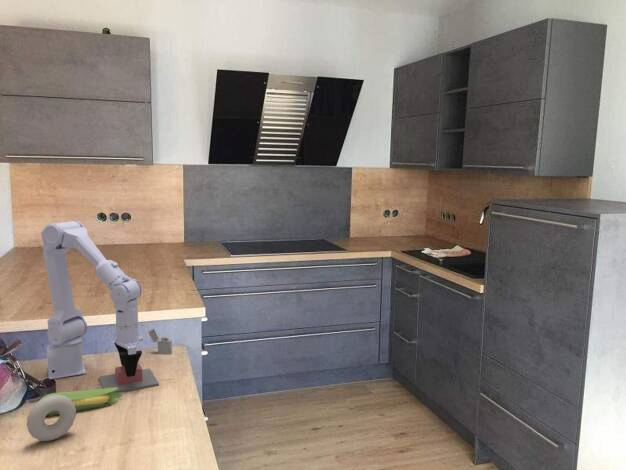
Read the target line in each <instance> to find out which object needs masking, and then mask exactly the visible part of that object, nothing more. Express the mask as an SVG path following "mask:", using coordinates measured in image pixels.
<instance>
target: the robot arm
mask: <svg viewBox="0 0 626 470" xmlns="http://www.w3.org/2000/svg"><path fill="white" fill-rule="evenodd" d="M40 234H41V240H42V246H43V247H42V248H43V249H42V253H43V258H44V264H45V270H46V275H47V280H48V286H49V291H50V297H51V302H52V306H53V308H52V309H53V313H52V314H51V315H50V317H49V318H48V319H47V333H46V334H47V339H48V341H49V342H50V343H51V344H47V345H46V355H47V356H46V359H47V360H46V361H47V363H46V371H47V374H48V379H49V378H50V379H49V380H56V379H60V378H66V377H74V376H79V375H84V374H85V375H86V369H85V365H84V362H83V359H84V358H83V340H84V336H85V335H86V334H87V333H88V324H87V323H88V322H87V321H86V320H85V318H84V316H83V312H82V311H81V310H80V309H78V308H77V307H76V305H75V301H74V296H73V291H72V285H71V279H70V275H69V268H68V263H67V257H66V254H67V253H68V252H69V250H70V249H76V250H77V252H79V253H80V254H82V257H85V259H86V260H87V261H89V262H90V264H92V266H94V267H95V275H96V276H97V278H99V280H100V281H101V282H102V283H103V284H104V285H105V287H106V288H108V290H109V291H110V293H109V297H110V299H111V300H112V302H113V307H114V309H115V335H116V337H115V342H114V346H115V348H116V349H117V352H118V356H119V361H120V364H121V365H120V366H124V367H125V372H126V375H127V377H131V376H135V374H136V369H137V364H139V361H140V358H141V357H142V353H143V351H142V350H137V346H138V344H139V342H142V341H144V338H143V336H139V311H138V300H139V298H140V297H141V295H142V292H143V290H142V285H141V284H140V283H139V281H138V280H137V279H135V278H131V277H130V276H128V275H126V273H125V272H124V271H123V270H122V269H121V268H120V267H119V264H118V263H117V262H116V261H114V260H111V259H107V258H106V257H105V256H104V254H103V253H102V252H101V251H100V249H99V248H98V247H97V245H96V244H95V243H94V241H93V240H92V239H91V238H90V237H89V235H88V234H89V233H88V229H87V228H86V227H85V226H84V224H83V223H82V222H81V221H79V220H71V221H64V222H51V223H48V224H46V225H45V226H44V228H43V229H42V231H41V232H40Z"/></svg>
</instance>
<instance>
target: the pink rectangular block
mask: <svg viewBox="0 0 626 470" xmlns="http://www.w3.org/2000/svg"><path fill="white" fill-rule="evenodd" d="M114 369H115V373H114V374H115V375H116V381H117V384H118V385H122V384H127V383H133V382H138V381H142V369H143V368H142V365H141V364H140V363H138V364H137V369H136V374H135V376H131V377H127V375H126V372H125V367H124V366H122V365H120V366H115V367H114Z"/></svg>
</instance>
